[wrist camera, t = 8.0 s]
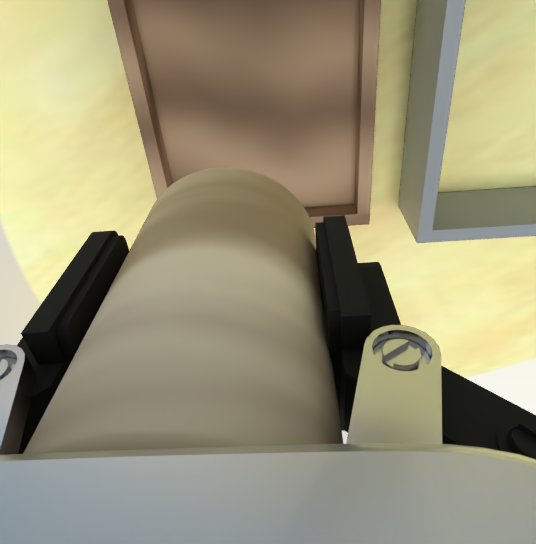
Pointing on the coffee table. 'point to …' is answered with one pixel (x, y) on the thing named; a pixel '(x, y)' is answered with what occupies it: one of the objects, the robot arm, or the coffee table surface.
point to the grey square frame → (431, 140)
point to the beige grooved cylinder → (205, 330)
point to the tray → (258, 92)
